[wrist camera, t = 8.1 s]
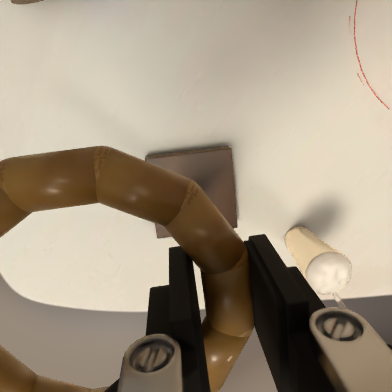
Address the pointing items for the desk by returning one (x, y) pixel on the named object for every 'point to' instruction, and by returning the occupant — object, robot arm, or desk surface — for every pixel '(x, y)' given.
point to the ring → (149, 210)
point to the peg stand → (204, 177)
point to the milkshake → (319, 262)
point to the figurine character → (24, 1)
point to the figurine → (357, 54)
